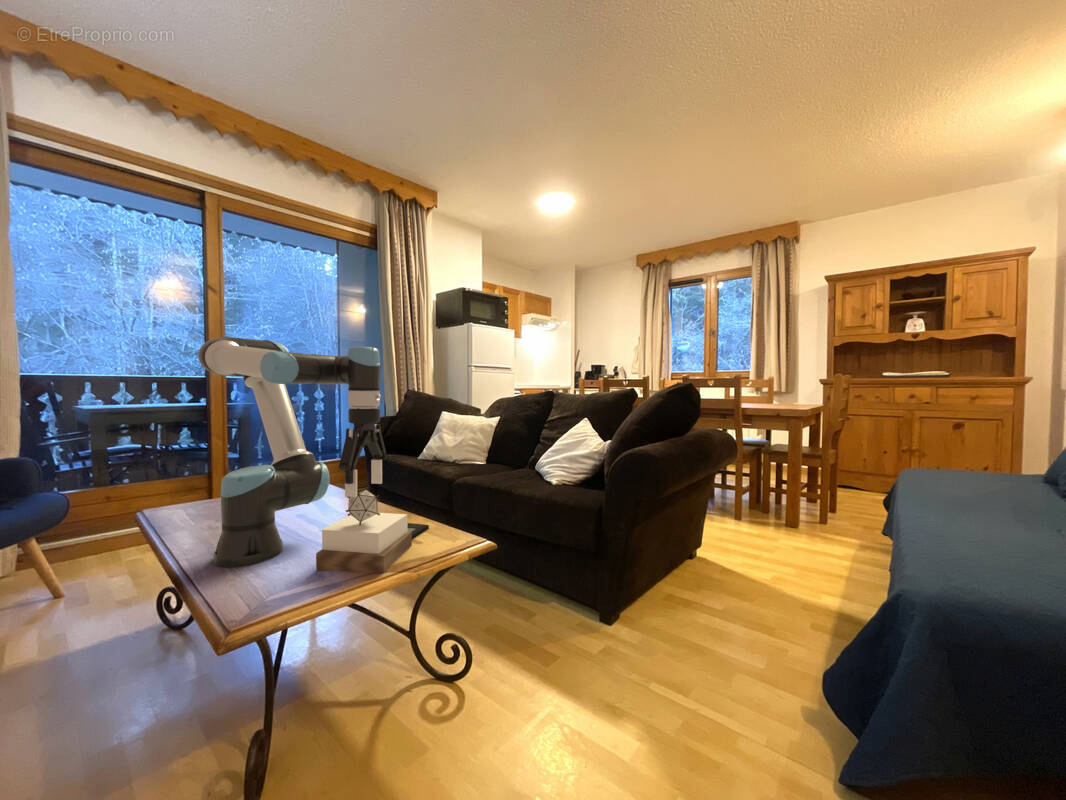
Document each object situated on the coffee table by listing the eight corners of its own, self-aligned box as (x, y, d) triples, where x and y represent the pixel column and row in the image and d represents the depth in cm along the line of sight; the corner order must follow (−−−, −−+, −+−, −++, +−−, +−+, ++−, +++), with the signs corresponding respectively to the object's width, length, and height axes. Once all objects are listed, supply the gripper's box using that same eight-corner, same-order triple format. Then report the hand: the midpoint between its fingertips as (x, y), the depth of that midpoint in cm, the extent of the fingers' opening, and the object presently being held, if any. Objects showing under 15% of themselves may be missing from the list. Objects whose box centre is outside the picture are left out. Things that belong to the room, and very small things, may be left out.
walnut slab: (316, 573, 100) (316, 553, 99) (353, 546, 117) (353, 529, 116) (383, 576, 98) (383, 556, 98) (411, 549, 115) (411, 531, 115)
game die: (379, 532, 105) (368, 506, 99) (346, 532, 105) (333, 507, 99) (389, 503, 112) (380, 478, 106) (358, 504, 112) (347, 479, 106)
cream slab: (322, 549, 102) (322, 529, 101) (357, 529, 116) (357, 511, 116) (378, 553, 99) (378, 533, 99) (407, 532, 114) (407, 514, 114)
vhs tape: (379, 545, 117) (379, 538, 117) (407, 529, 131) (407, 522, 131) (403, 548, 115) (403, 541, 115) (428, 531, 129) (428, 524, 129)
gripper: (353, 410, 93) (354, 503, 94) (398, 405, 118) (398, 479, 119) (321, 410, 94) (322, 502, 95) (372, 405, 119) (373, 478, 119)
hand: (364, 489), depth 107 cm, fingers open, 13 cm apart
